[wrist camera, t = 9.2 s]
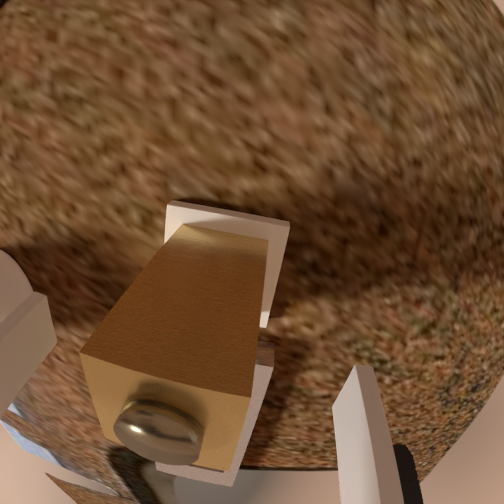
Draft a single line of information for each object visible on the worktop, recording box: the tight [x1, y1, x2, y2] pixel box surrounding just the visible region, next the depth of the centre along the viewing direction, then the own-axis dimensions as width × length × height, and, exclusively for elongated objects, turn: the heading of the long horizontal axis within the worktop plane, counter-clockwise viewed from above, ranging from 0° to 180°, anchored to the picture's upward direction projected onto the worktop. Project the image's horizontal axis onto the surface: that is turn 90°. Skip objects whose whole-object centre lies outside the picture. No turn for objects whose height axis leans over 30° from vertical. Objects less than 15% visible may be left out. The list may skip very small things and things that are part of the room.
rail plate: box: [155, 340, 275, 486], centre depth 25 cm, size 22×9×2 cm, turn 170°
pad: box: [164, 200, 290, 328], centre depth 19 cm, size 7×7×1 cm
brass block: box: [79, 224, 269, 471], centre depth 13 cm, size 5×5×12 cm
